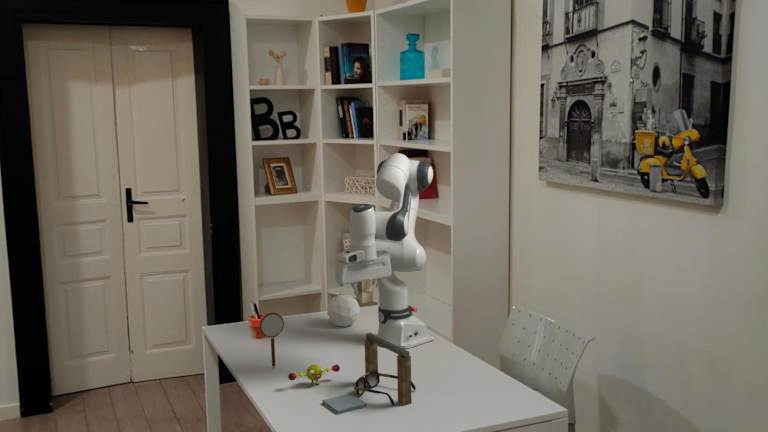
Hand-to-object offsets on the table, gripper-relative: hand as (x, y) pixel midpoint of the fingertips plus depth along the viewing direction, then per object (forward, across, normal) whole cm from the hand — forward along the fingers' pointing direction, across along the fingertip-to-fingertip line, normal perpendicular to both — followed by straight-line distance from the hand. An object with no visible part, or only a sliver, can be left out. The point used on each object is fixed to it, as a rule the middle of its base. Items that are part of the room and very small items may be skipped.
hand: (364, 293), depth 254 cm
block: (+3, 0, 0) cm, 3 cm away
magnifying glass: (+28, +25, -21) cm, 43 cm away
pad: (+27, +20, +21) cm, 40 cm away
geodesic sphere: (+28, -20, -52) cm, 62 cm away
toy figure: (+28, +20, +1) cm, 34 cm away
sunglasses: (+27, +6, +21) cm, 35 cm away
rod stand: (+27, +4, +20) cm, 34 cm away
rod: (+12, +4, +20) cm, 24 cm away
